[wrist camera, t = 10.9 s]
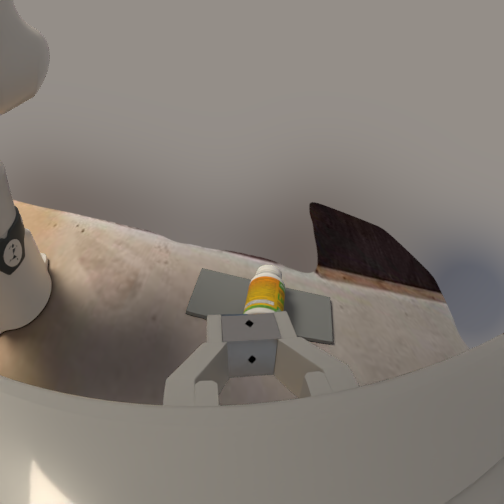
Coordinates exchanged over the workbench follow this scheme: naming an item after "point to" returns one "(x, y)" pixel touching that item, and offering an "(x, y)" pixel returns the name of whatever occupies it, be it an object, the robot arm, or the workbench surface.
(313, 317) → the mat
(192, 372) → the robot arm
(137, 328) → the workbench surface
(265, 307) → the supplement bottle
